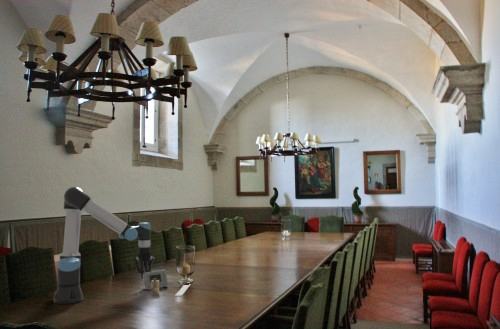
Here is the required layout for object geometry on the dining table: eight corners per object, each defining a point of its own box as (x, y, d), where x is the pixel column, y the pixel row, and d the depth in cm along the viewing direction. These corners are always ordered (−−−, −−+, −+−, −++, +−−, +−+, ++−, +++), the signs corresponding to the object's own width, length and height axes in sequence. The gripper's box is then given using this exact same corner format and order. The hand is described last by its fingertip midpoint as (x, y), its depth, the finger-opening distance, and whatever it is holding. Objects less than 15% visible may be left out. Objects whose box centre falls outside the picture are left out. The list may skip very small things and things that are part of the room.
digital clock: (145, 291, 252) (145, 273, 252) (140, 287, 259) (141, 270, 260) (170, 288, 261) (170, 271, 261) (164, 284, 268) (165, 268, 268)
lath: (174, 296, 238) (174, 295, 238) (185, 283, 274) (185, 282, 274) (181, 296, 238) (181, 295, 238) (191, 283, 273) (191, 282, 274)
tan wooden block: (150, 295, 241) (150, 279, 242) (152, 293, 245) (152, 278, 246) (157, 295, 241) (157, 279, 242) (159, 293, 245) (159, 278, 246)
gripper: (132, 247, 259) (132, 285, 257) (153, 247, 258) (153, 285, 257) (136, 246, 266) (136, 283, 264) (156, 245, 266) (156, 282, 264)
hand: (144, 284), depth 260 cm, fingers closed
